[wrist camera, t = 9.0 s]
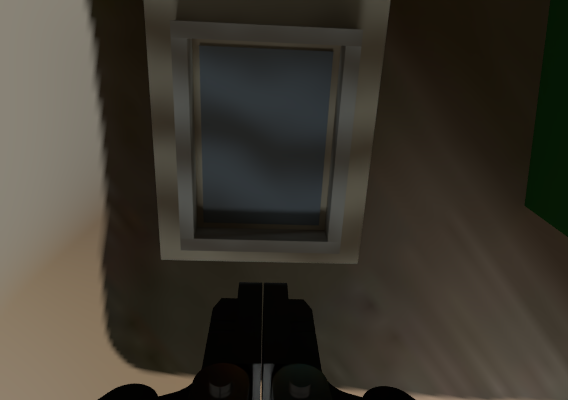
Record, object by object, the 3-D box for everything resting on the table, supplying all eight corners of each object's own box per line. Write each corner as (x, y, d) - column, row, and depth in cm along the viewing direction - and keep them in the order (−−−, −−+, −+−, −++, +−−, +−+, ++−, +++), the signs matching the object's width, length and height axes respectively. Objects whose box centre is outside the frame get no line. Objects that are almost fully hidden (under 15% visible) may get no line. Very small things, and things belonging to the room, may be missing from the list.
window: (146, -15, 29) (134, -18, 26) (386, -2, 30) (399, -4, 27) (163, 253, 37) (155, 272, 34) (355, 257, 37) (362, 276, 35)
